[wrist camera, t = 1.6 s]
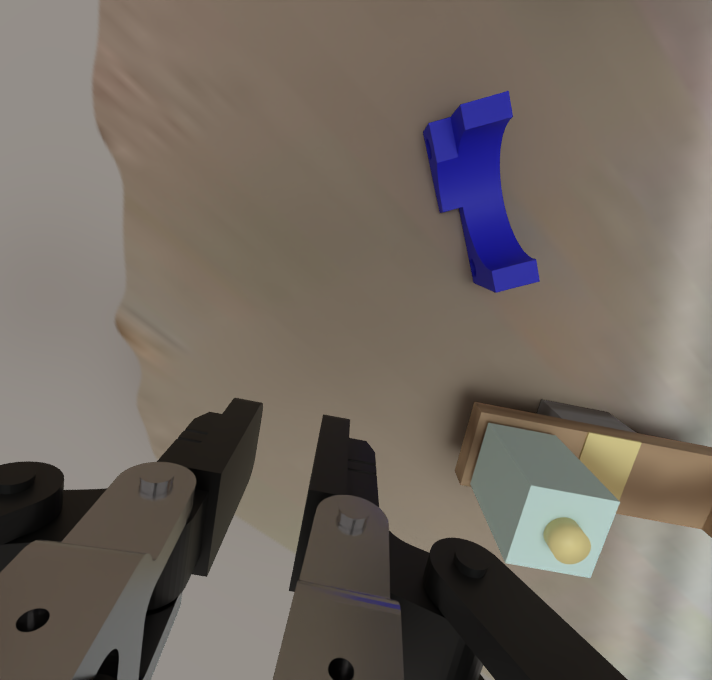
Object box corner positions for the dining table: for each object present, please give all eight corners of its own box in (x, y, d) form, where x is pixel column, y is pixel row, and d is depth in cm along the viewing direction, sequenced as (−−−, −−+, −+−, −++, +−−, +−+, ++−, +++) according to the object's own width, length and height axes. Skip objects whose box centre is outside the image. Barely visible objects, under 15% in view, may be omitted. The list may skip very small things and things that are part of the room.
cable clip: (422, 132, 33) (436, 111, 27) (481, 115, 33) (508, 90, 27) (454, 287, 36) (473, 298, 30) (509, 273, 36) (539, 281, 30)
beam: (462, 383, 38) (486, 418, 31) (685, 426, 38) (757, 470, 31) (444, 447, 39) (464, 494, 32) (659, 487, 40) (724, 542, 33)
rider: (488, 422, 31) (540, 498, 22) (555, 435, 32) (633, 515, 23) (470, 483, 33) (512, 579, 24) (535, 495, 33) (601, 595, 24)
